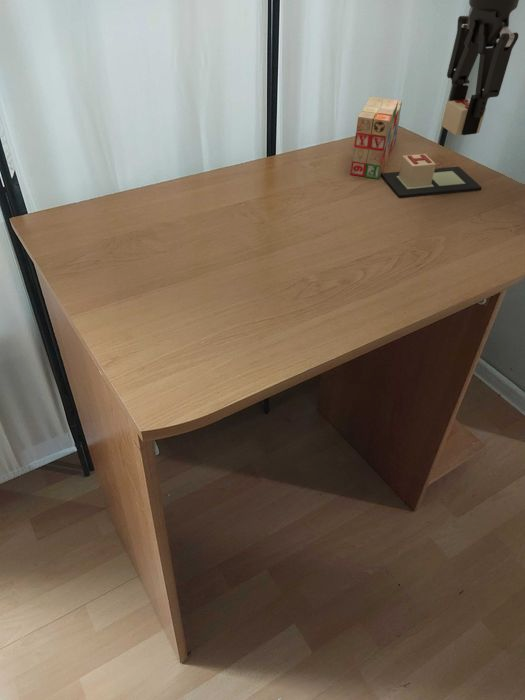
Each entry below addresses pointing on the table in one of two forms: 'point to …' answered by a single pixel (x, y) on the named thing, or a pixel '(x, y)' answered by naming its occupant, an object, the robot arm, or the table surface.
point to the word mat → (433, 183)
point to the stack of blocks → (375, 136)
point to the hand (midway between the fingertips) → (460, 127)
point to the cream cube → (417, 170)
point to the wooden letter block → (457, 116)
